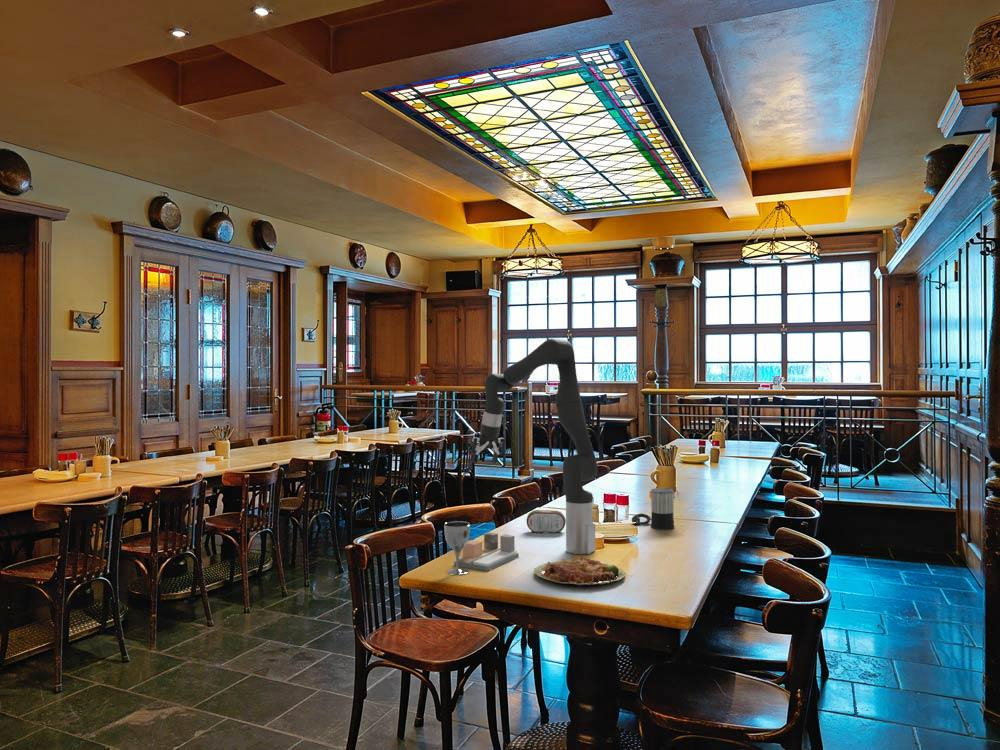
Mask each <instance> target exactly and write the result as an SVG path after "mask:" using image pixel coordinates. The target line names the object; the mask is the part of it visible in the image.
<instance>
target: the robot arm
mask: <svg viewBox="0 0 1000 750" xmlns="http://www.w3.org/2000/svg"><path fill="white" fill-rule="evenodd" d="M574 350H575V349H574V347H573V345H572V344H571V342H570V341H569V340H566V339H560V338H549V339H547V340H545V341H544V342H542V343H541V344H540V345H538V346H537V347H536V348H535V349H534V350H532V351H531V352H530V353H529V354H527V355H526V356H525V357H523V358H522V359H520V360H519V361H517V362H515V363H513V364H511V365H509V366H508V367H507V368H505V369H504V371H503V373H490V374H488V375H487V377H486V379H485V380H484V391H485V392H484V393H485V406H484V411H483V414H482V417H481V418H482V420H481V424H480V429H479V430H480V431H479V437H475V436H474V435H473V436H472V437H471V440H470V445H469V450H468V451H469V452H471V453H472V462H473V463H474V464H478V461H479V460H478V459H479V454H480V453H481V452H482V451H483V450H484V449H485V450H488V449H489V450H492V451H493V454H492V459H491V463H492V464H494V465H495V464H497V462H498V458H499V455H500V454H503V453H504V451H505V443H506V439H505V438H504V437H501V436H500V432H501V425H502V417H503V410H504V403H505V402H504V401H505V400H503V398H501V397H499V394H498V393H500V392H501V393H504V392H507V391H509V390H511V389H513V388H514V387H515V386H516V385H517V384H519V383H520V382H522V381H524V380H526V379H528V378H529V377H530V376H531V375H532V374H533V373H534V371H535V370H536V369H538V368H539V367H542V366H545V365H556V366H557V370H558V374H559V383H558V388H557V392H556V395H555V408H556V412H557V419H558V420H559V423H560V424H561V426H562V428H563V429H564V430H565V432H566V433H567V434H568V436H570V438H571V440H572V441H573V443H574V446H575V451H576V454H572V455H567V456H566V457H565V458H564V460H563V463H562V464H563V465H562V479H563V480H562V482H563V492H564V496H565V520H566V523H565V550H566V552H567V553H569V554H575V555H590V554H592V553H594V552H595V551H596V523H595V522H594V514H593V513H594V512H593V511H594V510H593V509H594V507H593V504H594V503H593V500H594V496H593V493H592V492H591V491H588V490H585V489H584V488H583V482H586V481H592V480H594V479H595V478H596V477H597V475H598V462H597V459H596V455H595V452H594V449H593V445H592V441H591V439H590V434H589V431H588V426H587V421H586V418H585V417H586V416H585V413H584V412H585V411H584V406H583V400H582V398H581V394H580V388H579V383H578V377H577V369H576V368H577V367H576V358H575V356H576V355H575V351H574ZM499 436H500V437H499ZM478 442H479V443H478ZM497 444H498V446H497Z"/></svg>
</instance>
